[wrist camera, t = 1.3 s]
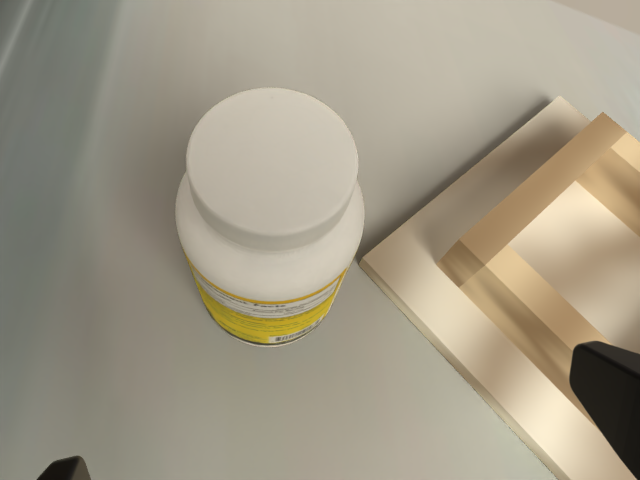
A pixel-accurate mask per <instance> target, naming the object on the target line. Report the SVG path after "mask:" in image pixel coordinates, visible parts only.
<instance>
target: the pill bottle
mask: <svg viewBox="0 0 640 480" xmlns="http://www.w3.org/2000/svg"><path fill="white" fill-rule="evenodd" d="M357 176H358V153H357V148H356V145H355V142H354V139H353V137H352V134H351V132H350V131H349V129H348V127H347V126H346V124H345V123H344V121H343V120H342V119H341V118H340V117H339V116H338V115H337V114H336V113H335V112H334V111H333V110H332V109H331V108H330V107H328V106H327V105H326V104H324V103H322V102H321V101H319V100H317V99H316V98H314V97H312V96H309V95H307V94H304V93H301V92H298V91H294V90H290V89H285V88H276V87H266V88H256V89H250V90H246V91H242V92H239V93H236V94H234V95H232V96H229V97H227V98H225V99H224V100H222V101H220V102H219V103H217V104H216V105H215V106H213V107H212V108H211V109H210V110H208V111H207V112H206V113H205V114H204V116H203V117H202V118H201V119H200V120H199V122H198V123H197V125H196V126H195V128H194V130H193V132H192V134H191V136H190V139H189V142H188V146H187V151H186V172H185V174H184V176H183V178H182V180H181V183H180V186H179V189H178V193H177V198H176V205H175V218H176V226H177V231H178V236H179V240H180V243H181V245H182V248H183V251H184V253H185V256H186V259H187V261H188V264H189V266H190V269H191V272H192V274H193V277H194V279H195V282H196V284H197V287H198V289H199V292H200V294H201V297H202V300H203V302H204V304H205V306H206V309H207V311H208V312H209V314H210V316H211V317H212V319H213V320H214V321H215V322H216V324H217V325H218V326H219V327H220V328H221V329H222V330H223V331H225V332H226V333H227V334H228V335H230V336H231V337H233V338H235V339H237V340H238V341H241V342H243V343H246V344H249V345H253V346H258V347H279V346H283V345H287V344H291V343H293V342H296V341H298V340H300V339H302V338H304V337H305V336H307V335H308V334H310V333H311V332H312V331H313V330H314V329H315V328H316V327H317V326H318V325H319V324H320V323H321V322H322V321H323V319H324V318H325V316H326V315H327V313H328V311H329V309H330V308H331V306H332V304H333V302H334V300H335V297H336V295H337V293H338V291H339V288H340V286H341V284H342V281H343V279H344V277H345V275H346V273H347V271H348V269H349V267H350V265H351V262H352V260H353V258H354V256H355V254H356V252H357V249H358V247H359V244H360V241H361V238H362V234H363V229H364V222H365V209H364V200H363V195H362V191H361V188H360V186H359V183H358V181H357Z"/></svg>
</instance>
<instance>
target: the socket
mask: <svg viewBox="0 0 640 480" xmlns="http://www.w3.org/2000/svg"><path fill="white" fill-rule="evenodd" d="M359 266H360V267H361V268H362V269H363V270H364V271H365V272H366V274H367V275H368V276H369V277H370V278H371V279H372V280H373V281H374V282H375V283H376V284H377V285H378V286H379V288H380V289H381V290H382V291H383V292H384V293H385V294H386V295H387V296H388V297H389V298H390V299H391V300H392V301H393V303H394V304H395V305H396V306H397V307H398V308H399V309H400V310H401V311H402V312H403V313H404V314H405V315H406V316H407V318H408V319H409V320H410V321H411V322H412V323H413V324H414V325H415V326H416V327H417V328H418V329H419V330H420V331H421V333H422V334H423V335H424V336H425V337H426V338H427V339H428V340H429V341H430V342H431V343H432V344H433V345H434V346H435V348H436V349H437V350H438V351H439V352H440V353H441V354H442V355H443V356H444V357H445V358H446V359H447V360H448V361H449V363H450V364H451V365H452V366H453V367H454V368H455V369H456V370H457V371H458V372H459V373H460V374H461V375H462V376H463V378H464V379H465V380H466V381H467V382H468V383H469V384H470V385H471V386H472V387H473V388H474V389H475V390H476V391H477V393H478V394H479V395H480V396H481V397H482V398H483V399H484V400H485V401H486V402H487V403H488V404H489V405H490V406H491V408H492V409H493V410H494V411H495V412H496V413H497V414H498V415H499V416H500V417H501V418H502V419H503V420H504V421H505V423H506V424H507V425H508V426H509V427H510V428H511V429H512V430H513V431H514V432H515V433H516V434H517V435H518V436H519V438H520V439H521V440H522V441H523V442H524V443H525V444H526V445H527V446H528V447H529V448H530V449H531V450H532V451H533V453H534V454H535V455H536V456H537V457H538V458H539V459H540V460H541V461H542V462H543V463H544V464H545V465H546V466H547V468H548V469H549V470H550V471H551V472H552V473H553V474H554V475H555V476H556V477H557V478H558V479H559V480H637V479H636V478H635V477H634V476H633V474H632V473H631V472H630V471H629V470H628V468H627V467H626V466H625V465H624V463H623V462H622V461H621V459H620V458H619V457H618V455H617V454H616V453H615V451H614V450H613V449H612V447H611V446H610V444H609V443H608V441H607V440H606V439H605V437H604V436H603V434H602V433H601V431H600V430H599V429H598V427H597V426H596V424H595V423H594V421H593V420H592V419H591V417H590V416H589V414H588V413H587V411H586V410H585V409H584V407H583V406H582V404H581V403H580V401H579V400H578V399H577V397H576V396H575V394H574V393H573V391H572V389H571V387H570V383H569V374H570V367H571V360H572V353H573V349H574V347H575V346H576V345H577V344H580V343H584V342H589V341H601V342H604V343H607V344H610V345H613V346H616V347H619V348H623V349H626V350H629V351H632V352H635V353H638V354H640V142H639V141H638V140H636V139H635V138H634V137H633V136H631V135H630V134H629V133H628V132H627V131H625V130H624V129H623V128H622V127H621V126H619V125H618V124H617V123H616V122H614V121H613V120H612V119H611V118H610V117H608V116H607V115H606V114H605V113H604V112H602V113H601V114H600V115H599V116H598V117H596V118H595V119H594V120H593V121H592V122H591V121H590V120H588V119H587V118H586V117H585V116H584V115H582V114H581V113H580V112H579V111H578V110H576V109H575V108H574V107H573V106H572V105H571V104H569V103H568V102H567V101H566V100H565V99H563V98H562V97H561V96H559V97H557V98H556V99H555V100H554V101H553V102H551V103H550V104H549V105H548V106H546V107H545V108H544V109H543V110H542V111H540V112H539V113H538V114H537V115H535V116H534V117H533V118H532V119H531V120H529V121H528V122H527V123H526V124H524V125H523V126H522V127H521V128H520V129H518V130H517V131H516V132H515V133H514V134H512V135H511V136H510V137H509V138H507V139H506V140H505V141H504V142H503V143H501V144H500V145H499V146H498V147H496V148H495V149H494V150H493V151H492V152H490V153H489V154H488V155H487V156H485V157H484V158H483V159H482V160H481V161H479V162H478V163H477V164H476V165H474V166H473V167H472V168H471V169H470V170H468V171H467V172H466V173H465V174H463V175H462V176H461V177H460V178H459V179H457V180H456V181H455V182H454V183H452V184H451V185H450V186H449V187H448V188H446V189H445V190H444V191H443V192H442V193H440V194H439V195H438V196H437V197H435V198H434V199H433V200H432V201H431V202H429V203H428V204H427V205H426V206H424V207H423V208H422V209H421V210H420V211H418V212H417V213H416V214H415V215H413V216H412V217H411V218H410V219H409V220H407V221H406V222H405V223H404V224H402V225H401V226H400V227H399V228H398V229H396V230H395V231H394V232H393V233H391V234H390V235H389V236H388V237H387V238H385V239H384V240H383V241H382V242H381V243H379V244H378V245H377V246H376V247H374V248H373V249H372V250H371V251H370V252H368V253H367V254H366V255H365V256H363V257H362V259H361V261H360V263H359Z"/></svg>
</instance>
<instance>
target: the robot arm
mask: <svg viewBox="0 0 640 480" xmlns="http://www.w3.org/2000/svg"><path fill="white" fill-rule="evenodd" d="M569 383H570V387H571V389H572V391H573V393H574V394H575V396H576V397H577V399H578V400H579V401H580V403H581V404H582V406H583V407H584V409H585V410H586V411H587V413H588V414H589V416H590V417H591V419H592V420H593V421H594V423H595V424H596V426H597V427H598V429H599V430H600V431H601V433H602V434H603V436H604V437H605V439H606V440H607V441H608V443H609V444H610V446H611V447H612V449H613V450H614V451H615V453H616V454H617V455H618V457H619V458H620V459H621V461H622V462H623V463H624V465H625V466H626V467H627V468H628V470H629V471H630V472H631V473H632V474H633V476H634V477H635V478H636V479H637V480H640V354H638V353H635V352H632V351H629V350H626V349H623V348H619V347H616V346H613V345H610V344H607V343H604V342H601V341H589V342H584V343H580V344H577V345H576V346H575V347H574V349H573V353H572V360H571V367H570V374H569ZM37 480H91V478H90V475H89V472H88V469H87V466H86V463H85V461H84V459H83V458H82V457H80V456H73V457H69V458H64V459H60V460H56V461H54V462H53V463H51V464H50V465H49V466H48V467H47V469H46V470H45V471H44V472H43V473H42V474H41V475H40V476H39V477H38V479H37Z"/></svg>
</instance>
